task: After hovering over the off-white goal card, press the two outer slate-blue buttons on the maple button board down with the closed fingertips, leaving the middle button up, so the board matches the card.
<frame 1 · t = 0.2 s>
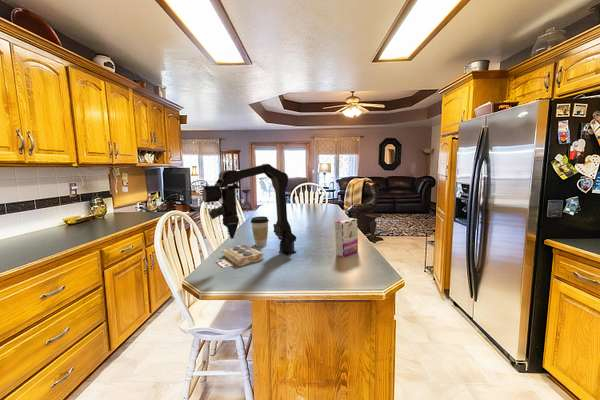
hand: (231, 235, 117), 13 cm above the countertop, fingers open, 9 cm apart
button board: (242, 257, 129), on the countertop
goal card: (223, 263, 122), on the countertop
button 1: (237, 248, 133), point 3 cm above the countertop, slide at 0.0 cm
button middle: (242, 251, 128), point 3 cm above the countertop, slide at 0.0 cm
coffee cup: (261, 245, 149), on the countertop
candy bar box: (346, 254, 130), on the countertop
button 2: (247, 253, 124), point 3 cm above the countertop, slide at 0.0 cm
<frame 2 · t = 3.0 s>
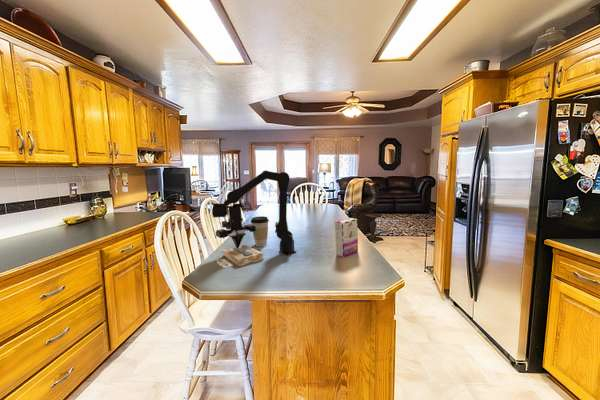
hand: (237, 247, 133), 4 cm above the countertop, fingers closed, pressing on button 1
button 1: (237, 250, 133), point 2 cm above the countertop, slide at 0.9 cm, touching gripper
everything else where it was.
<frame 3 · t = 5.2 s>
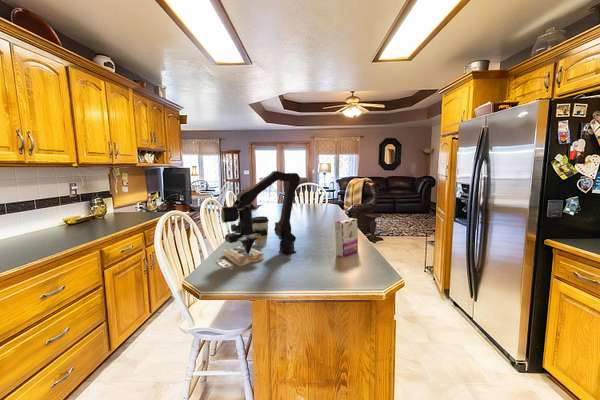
hand: (247, 253, 124), 4 cm above the countertop, fingers closed, pressing on button 2
button 1: (237, 250, 133), point 2 cm above the countertop, slide at 1.0 cm
button 2: (247, 255, 124), point 2 cm above the countertop, slide at 0.9 cm, touching gripper
everything else where it was.
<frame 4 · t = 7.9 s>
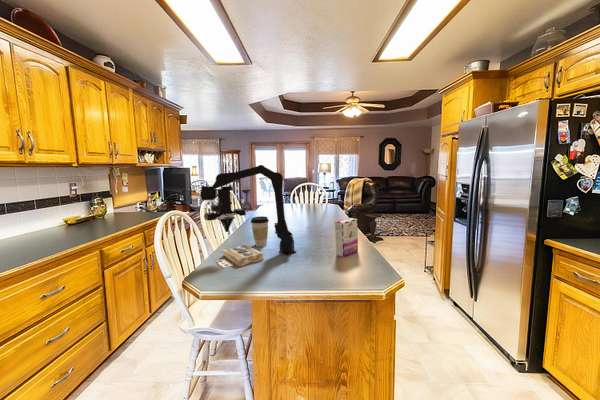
hand: (226, 231, 131), 12 cm above the countertop, fingers closed
button 2: (247, 255, 124), point 2 cm above the countertop, slide at 1.0 cm
everything else where it was.
at the end: button 1 slide at 1.0 cm; button 2 slide at 1.0 cm; button middle slide at 0.0 cm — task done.
